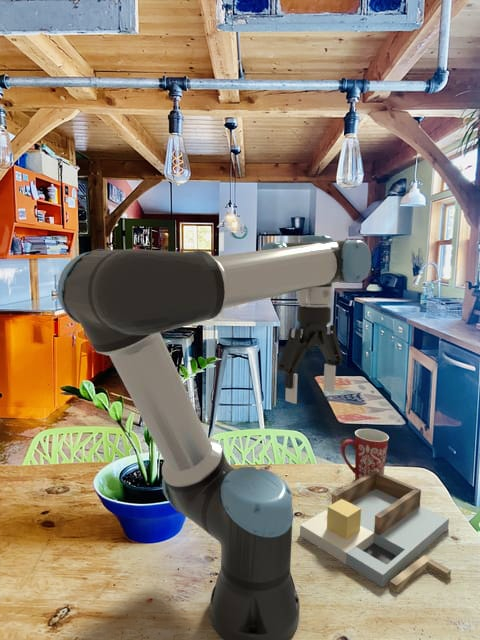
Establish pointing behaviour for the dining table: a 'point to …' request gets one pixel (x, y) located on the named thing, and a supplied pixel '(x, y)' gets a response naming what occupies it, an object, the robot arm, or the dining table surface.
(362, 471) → the mug
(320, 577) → the dining table surface
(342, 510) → the block
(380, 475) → the cubby
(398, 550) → the board
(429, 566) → the crook tool
